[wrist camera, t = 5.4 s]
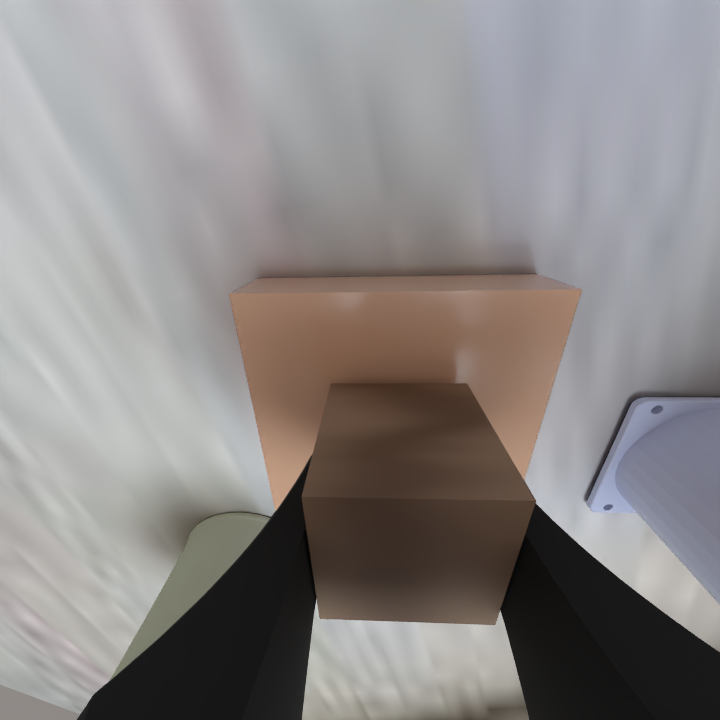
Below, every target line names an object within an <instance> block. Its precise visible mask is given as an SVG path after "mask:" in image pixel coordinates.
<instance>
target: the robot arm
mask: <svg viewBox="0 0 720 720" xmlns="http://www.w3.org/2000/svg"><path fill="white" fill-rule="evenodd" d="M653 407H654V408H653ZM311 458H312V455H311V456H310V458H309V460H308V462H307V464H306V465H305V467H304V469H303V471H302V472H301V474H300V476H299V477H298V479H297V480H296V482H295V484H294V485H293V487H292V488H291V490H290V491H289V493H288V494H287V496H286V497H285V499H284V500H283V501H282V503H281V504H280V506H279V507H278V509H277V510H276V511H275V513H274V514H273V515H272V517H271V518H270V519H269V521H268V522H267V523H266V525H265V526H264V527H263V529H262V530H261V531H260V532H259V534H258V535H257V536H256V537H255V539H254V540H253V541H252V542H251V544H250V545H249V546H248V547H247V548H246V549H245V551H244V552H243V553H242V554H241V555H240V556H239V558H238V559H237V560H236V561H235V562H234V563H233V564H232V565H231V567H230V568H229V569H228V570H227V571H226V572H225V573H224V574H223V575H222V576H221V577H220V578H219V579H218V581H217V582H216V583H215V584H214V585H213V586H212V587H211V588H210V589H209V590H208V591H207V592H206V593H205V594H204V595H203V596H202V597H201V598H200V599H199V600H198V601H197V602H196V603H195V604H194V605H193V606H192V607H191V608H190V609H189V610H188V611H187V612H186V613H185V614H183V615H182V616H181V617H180V618H179V619H178V620H177V621H176V622H175V623H174V624H173V625H172V626H171V627H170V628H169V629H168V630H167V631H166V632H165V633H164V634H163V635H161V636H160V637H159V638H158V639H157V640H156V641H155V642H154V643H153V644H152V645H150V646H149V647H148V648H147V649H146V650H145V651H144V652H142V653H141V654H140V655H139V656H138V657H137V658H135V659H134V660H133V661H132V662H131V663H130V664H129V665H127V666H126V667H125V668H124V669H123V670H122V671H120V672H119V673H118V674H117V675H116V676H115V677H114V678H112V679H111V680H110V681H109V682H108V683H107V684H105V685H104V686H103V687H102V688H101V689H100V690H98V691H97V692H96V693H95V694H94V695H93V696H92V698H91V699H90V701H89V702H88V704H87V706H86V707H85V709H84V710H83V712H82V713H81V714H80V716H79V717H78V719H77V720H302V711H303V702H304V693H305V684H306V675H307V667H308V658H309V650H310V641H311V633H312V625H313V617H314V610H315V604H316V598H317V597H316V590H315V584H314V577H313V570H312V564H311V557H310V550H309V544H308V537H307V530H306V524H305V517H304V510H303V503H302V493H303V489H304V485H305V481H306V477H307V474H308V470H309V466H310V462H311ZM587 506H588V507H589V508H590V510H591V511H593V512H610V513H638V515H639V516H640V517H641V518H642V519H643V520H644V521H645V522H646V523H647V525H648V526H649V527H650V528H651V529H652V530H653V531H654V532H655V533H656V535H657V536H658V537H659V538H660V539H661V540H662V541H663V542H664V543H665V545H666V546H667V547H668V548H669V549H670V550H671V551H672V552H673V553H674V555H675V556H676V557H677V558H678V559H679V560H680V561H681V562H682V563H683V565H684V566H685V567H686V568H687V569H688V570H689V571H690V572H691V573H692V575H693V576H694V577H695V578H696V579H697V580H698V581H699V582H700V583H701V585H702V586H703V587H704V588H705V589H706V590H707V591H708V592H709V593H710V595H711V596H712V597H713V598H714V599H715V600H716V601H717V602H718V603H719V605H720V398H710V397H643V398H639V399H637V400H635V401H634V402H633V403H632V404H631V406H630V408H629V410H628V412H627V414H626V417H625V419H624V421H623V423H622V425H621V428H620V430H619V432H618V434H617V437H616V439H615V441H614V443H613V445H612V448H611V450H610V452H609V454H608V456H607V459H606V461H605V463H604V465H603V468H602V470H601V472H600V474H599V476H598V479H597V481H596V483H595V485H594V487H593V490H592V492H591V494H590V496H589V498H588V501H587ZM500 610H501V613H502V617H503V620H504V623H505V627H506V630H507V634H508V638H509V642H510V645H511V649H512V653H513V656H514V660H515V664H516V668H517V672H518V676H519V680H520V683H521V687H522V691H523V695H524V699H525V703H526V707H527V711H528V715H529V720H720V652H718V651H717V650H715V649H714V648H712V647H711V646H710V645H708V644H707V643H705V642H704V641H702V640H701V639H699V638H698V637H697V636H695V635H694V634H692V633H691V632H690V631H688V630H687V629H685V628H684V627H683V626H681V625H680V624H679V623H677V622H676V621H674V620H673V619H672V618H670V617H669V616H668V615H666V614H665V613H664V612H662V611H661V610H660V609H658V608H657V607H656V606H654V605H653V604H652V603H650V602H649V601H648V600H646V599H645V598H644V597H642V596H641V595H640V594H638V593H637V592H636V591H635V590H633V589H632V588H631V587H629V586H628V585H627V584H626V583H624V582H623V581H622V580H621V579H619V578H618V577H617V576H616V575H614V574H613V573H612V572H611V571H610V570H608V569H607V568H606V567H605V566H604V565H602V564H601V563H600V562H599V561H598V560H596V559H595V558H594V557H593V556H592V555H590V554H589V553H588V552H587V551H586V550H585V549H584V548H582V547H581V546H580V545H579V544H578V543H577V542H576V541H574V540H573V539H572V538H571V537H570V536H569V535H568V534H567V533H566V532H565V531H564V530H563V529H561V528H560V527H559V526H558V525H557V524H556V523H555V522H554V521H553V520H552V519H551V518H550V517H549V516H548V515H547V514H546V513H545V512H544V511H543V510H542V509H541V508H540V507H539V506H538V505H537V504H536V503H535V506H534V509H533V512H532V515H531V518H530V521H529V524H528V527H527V530H526V533H525V536H524V539H523V542H522V545H521V548H520V551H519V554H518V557H517V560H516V563H515V566H514V569H513V572H512V575H511V578H510V581H509V584H508V587H507V590H506V593H505V596H504V599H503V602H502V606H501V609H500Z"/></svg>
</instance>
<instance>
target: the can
mask: <svg viewBox="0 0 720 720" xmlns="http://www.w3.org/2000/svg"><path fill="white" fill-rule="evenodd" d="M269 519H270V518H269V517H266V516H262V515H257V514H251V513H225V514H220V515H216V516H212V517H210V518H208V519H206V520H204V521H202V522H201V523H199V524H198V525H197V526H196V527H195V528H194V529H193V530H192V532H191V533H190V535H189V538H188V541H187V544H186V546H185V548H184V550H183V552H182V554H181V556H180V557H179V559H178V561H177V563H176V565H175V567H174V568H173V570H172V572H171V574H170V576H169V577H168V579H167V581H166V583H165V585H164V586H163V588H162V590H161V592H160V593H159V595H158V597H157V599H156V601H155V602H154V604H153V606H152V608H151V609H150V611H149V613H148V615H147V616H146V618H145V620H144V622H143V624H142V625H141V627H140V629H139V631H138V632H137V634H136V636H135V638H134V639H133V641H132V643H131V645H130V646H129V648H128V650H127V652H126V653H125V655H124V657H123V659H122V660H121V662H120V664H119V666H118V667H117V669H116V671H115V672H114V674H113V676H112V678H114V677H115V676H116V675H117V674H118V673H119V672H120V671H122V670H123V669H124V668H125V667H126V666H127V665H129V664H130V663H131V662H132V661H133V660H134V659H135V658H137V657H138V656H139V655H140V654H141V653H142V652H144V651H145V650H146V649H147V648H148V647H149V646H150V645H152V644H153V643H154V642H155V641H156V640H157V639H158V638H159V637H160V636H161V635H163V634H164V633H165V632H166V631H167V630H168V629H169V628H170V627H171V626H172V625H173V624H174V623H175V622H176V621H177V620H178V619H179V618H180V617H181V616H182V615H183V614H185V613H186V612H187V611H188V610H189V609H190V608H191V607H192V606H193V605H194V604H195V603H196V602H197V601H198V600H199V599H200V598H201V597H202V596H203V595H204V594H205V593H206V592H207V591H208V590H209V589H210V588H211V587H212V586H213V585H214V584H215V583H216V582H217V581H218V579H219V578H220V577H221V576H222V575H223V574H224V573H225V572H226V571H227V570H228V569H229V568H230V567H231V565H232V564H233V563H234V562H235V561H236V560H237V559H238V558H239V556H240V555H241V554H242V553H243V552H244V551H245V549H246V548H247V547H248V546H249V545H250V544H251V542H252V541H253V540H254V539H255V537H256V536H257V535H258V534H259V532H260V531H261V530H262V529H263V527H264V526H265V525H266V523H267V522H268V521H269ZM112 678H111V679H112ZM111 679H110V680H111Z"/></svg>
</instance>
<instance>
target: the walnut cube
mask: <svg viewBox="0 0 720 720" xmlns="http://www.w3.org/2000/svg"><path fill="white" fill-rule="evenodd" d="M302 503H303V510H304V517H305V524H306V530H307V537H308V544H309V550H310V557H311V564H312V570H313V577H314V584H315V590H316V597H317V604H318V610H319V617H320V619H343V620H371V621H399V622H427V623H455V624H483V625H495V624H496V621H497V618H498V615H499V612H500V609H501V606H502V602H503V599H504V596H505V593H506V590H507V587H508V584H509V581H510V578H511V575H512V572H513V569H514V566H515V563H516V560H517V557H518V554H519V551H520V548H521V545H522V542H523V539H524V536H525V533H526V530H527V527H528V524H529V521H530V518H531V515H532V512H533V509H534V506H535V503H536V500H535V498H534V496H533V495H532V493H531V491H530V490H529V488H528V486H527V484H526V483H525V481H524V479H523V478H522V476H521V474H520V473H519V471H518V469H517V467H516V466H515V464H514V462H513V461H512V459H511V457H510V456H509V454H508V452H507V450H506V449H505V447H504V445H503V444H502V442H501V440H500V439H499V437H498V435H497V433H496V432H495V430H494V428H493V427H492V425H491V423H490V422H489V420H488V418H487V416H486V415H485V413H484V411H483V410H482V408H481V406H480V405H479V403H478V401H477V399H476V398H475V396H474V394H473V393H472V391H471V389H470V388H469V386H468V384H467V383H331V385H330V389H329V392H328V396H327V400H326V404H325V408H324V412H323V416H322V420H321V423H320V427H319V431H318V435H317V439H316V443H315V447H314V450H313V454H312V458H311V462H310V466H309V470H308V474H307V477H306V481H305V485H304V489H303V493H302Z"/></svg>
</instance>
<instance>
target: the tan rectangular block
mask: <svg viewBox="0 0 720 720" xmlns="http://www.w3.org/2000/svg"><path fill="white" fill-rule="evenodd" d="M581 292H582V289H580V288H577V287H574V286H571V285H568V284H565V283H562V282H559V281H556V280H553V279H550V278H547V277H544V276H541V275H538V274H509V275H442V276H375V277H309V278H258V279H256V280H254V281H253V282H251V283H249V284H247V285H245V286H243V287H241V288H239V289H237V290H235V291H233V292H231V293H230V294H229V297H230V301H231V306H232V311H233V315H234V320H235V325H236V329H237V334H238V339H239V343H240V348H241V353H242V357H243V362H244V366H245V371H246V376H247V380H248V385H249V390H250V394H251V399H252V404H253V408H254V413H255V418H256V422H257V427H258V432H259V436H260V441H261V446H262V450H263V455H264V460H265V464H266V469H267V474H268V478H269V483H270V488H271V492H272V497H273V502H274V506H275V511H276V510H277V509H278V507H279V506H280V504H281V503H282V501H283V500H284V499H285V497H286V496H287V494H288V493H289V491H290V490H291V488H292V487H293V485H294V484H295V482H296V480H297V479H298V477H299V476H300V474H301V472H302V471H303V469H304V467H305V465H306V464H307V462H308V460H309V458H310V456H311V455H312V454H313V450H314V447H315V443H316V439H317V435H318V431H319V427H320V423H321V420H322V416H323V412H324V408H325V404H326V400H327V396H328V392H329V389H330V385H331V383H467V384H468V386H469V388H470V389H471V391H472V393H473V394H474V396H475V398H476V399H477V401H478V403H479V405H480V406H481V408H482V410H483V411H484V413H485V415H486V416H487V418H488V420H489V422H490V423H491V425H492V427H493V428H494V430H495V432H496V433H497V435H498V437H499V439H500V440H501V442H502V444H503V445H504V447H505V449H506V450H507V452H508V454H509V456H510V457H511V459H512V461H513V462H514V464H515V466H516V467H517V469H518V471H519V473H520V474H521V476H522V478H523V479H525V476H526V472H527V469H528V466H529V462H530V459H531V456H532V453H533V449H534V446H535V443H536V439H537V436H538V433H539V430H540V426H541V423H542V420H543V416H544V413H545V410H546V407H547V403H548V400H549V397H550V393H551V390H552V387H553V384H554V380H555V377H556V374H557V370H558V367H559V364H560V361H561V357H562V354H563V351H564V347H565V344H566V341H567V338H568V334H569V331H570V328H571V324H572V321H573V318H574V315H575V311H576V308H577V305H578V301H579V298H580V295H581Z"/></svg>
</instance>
